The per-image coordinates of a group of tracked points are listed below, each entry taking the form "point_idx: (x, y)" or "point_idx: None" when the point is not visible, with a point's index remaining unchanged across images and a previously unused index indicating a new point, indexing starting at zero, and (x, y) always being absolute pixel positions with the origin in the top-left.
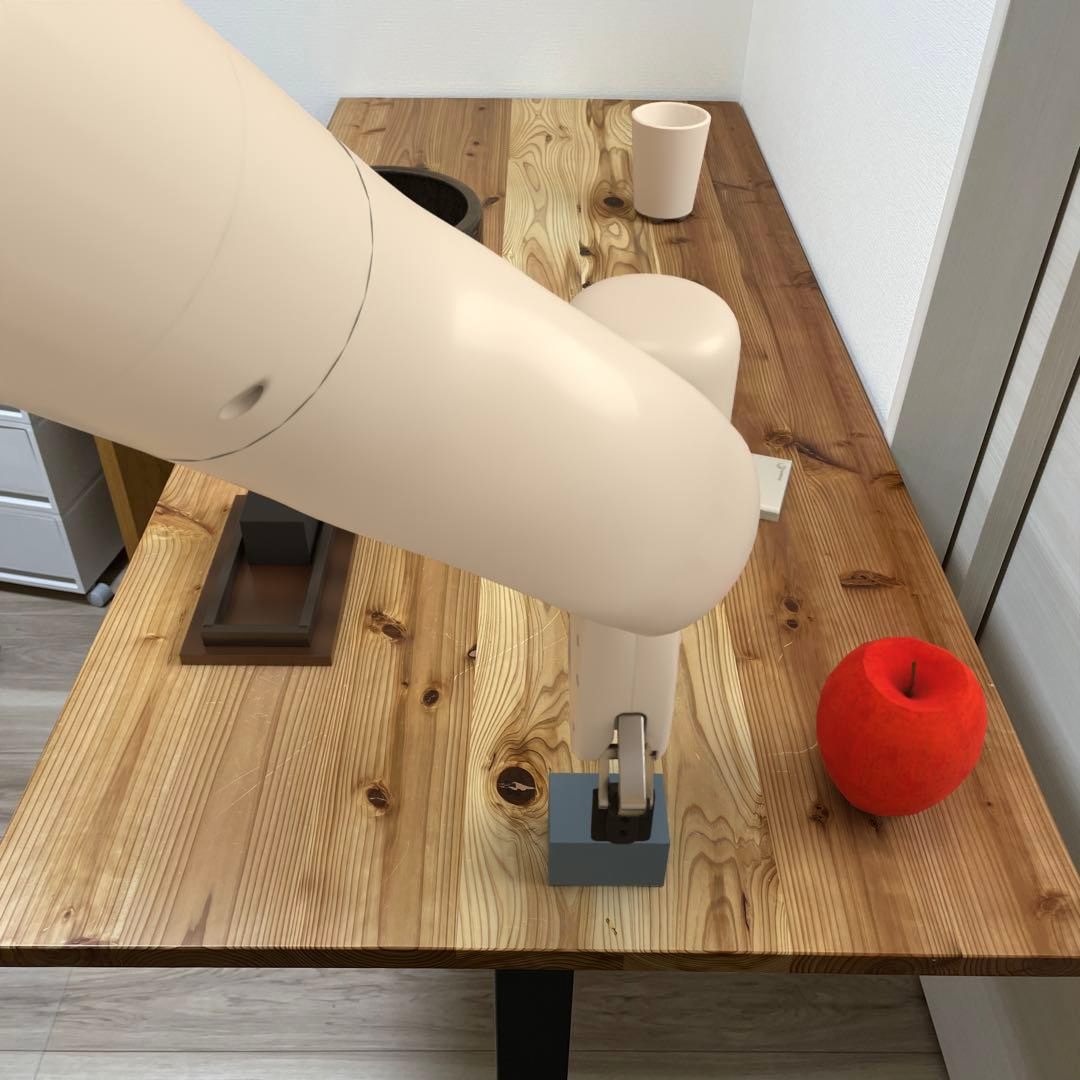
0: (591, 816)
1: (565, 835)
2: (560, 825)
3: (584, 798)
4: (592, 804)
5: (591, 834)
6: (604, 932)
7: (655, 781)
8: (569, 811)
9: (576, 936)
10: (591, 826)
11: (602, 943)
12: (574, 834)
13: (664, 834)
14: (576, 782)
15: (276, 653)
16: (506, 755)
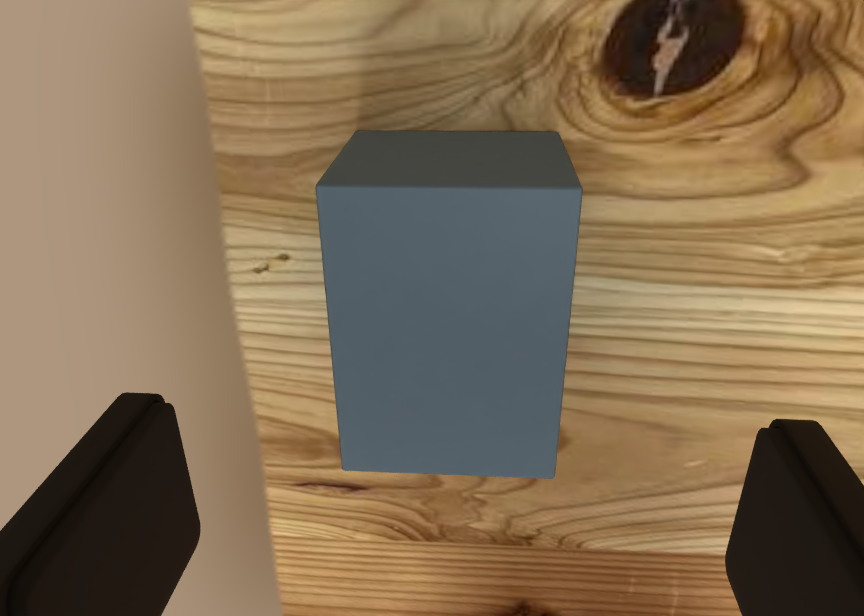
0: (91, 457)
1: (345, 230)
2: (378, 217)
3: (474, 289)
4: (15, 530)
5: (111, 407)
6: (255, 249)
7: (529, 460)
8: (428, 245)
9: (237, 191)
10: (82, 437)
11: (229, 243)
12: (348, 256)
13: (366, 462)
14: (535, 270)
15: None
16: (792, 5)
